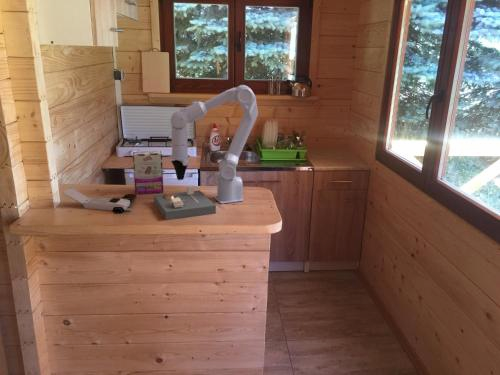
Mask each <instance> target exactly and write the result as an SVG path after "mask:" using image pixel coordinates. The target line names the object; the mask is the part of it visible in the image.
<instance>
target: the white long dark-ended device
mask: <svg viewBox="0 0 500 375" xmlns="http://www.w3.org/2000/svg"><path fill="white" fill-rule="evenodd" d="M62 193H63V194H64V195H65V196H67V197H69V198H70V199H72V200H74V201H76V202H78V203H80V204H81V205H83V208H84V209H89V210H98V211H99V210H100V211H112V210H113V208H114V207H122V208H123V209H124V211H123V212H125V211H126V212H127V211H129V212H130V211H132V208H129V207H130V205H131V201H130V200H129V199H126V198H119V197H112V198H105V197H89V196H87V195H85V194H84V193H81V192H80V191H79V190H77V189H75V188H73V187H69V188H67V189H66V190H65V189H64V190H63V192H62Z"/></svg>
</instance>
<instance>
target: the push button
mask: <svg viewBox="0 0 500 375" xmlns="http://www.w3.org/2000/svg"><path fill="white" fill-rule="evenodd" d="M165 194H166V195H165V200H167V199H171V198H175V195H173V194H170V193H165Z"/></svg>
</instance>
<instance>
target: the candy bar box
mask: <svg viewBox="0 0 500 375" xmlns="http://www.w3.org/2000/svg"><path fill="white" fill-rule="evenodd" d="M132 163H133V164H132V165H133V179H134V180H133V182H134V194H135V195H149V194H150V195H151V194H164V179H163V178H164V174H163V173H164V172H163V171H164V170H163V154H162V151H161V150H156V151H155V150H154V151H149V150H148V151H133V152H132Z"/></svg>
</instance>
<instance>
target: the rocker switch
mask: <svg viewBox="0 0 500 375" xmlns="http://www.w3.org/2000/svg"><path fill="white" fill-rule="evenodd" d="M171 201H172V204H173V205H174V207H175V208H176V207H183V203H182V201H181V199H180V198H179V197H177V198H171Z"/></svg>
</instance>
